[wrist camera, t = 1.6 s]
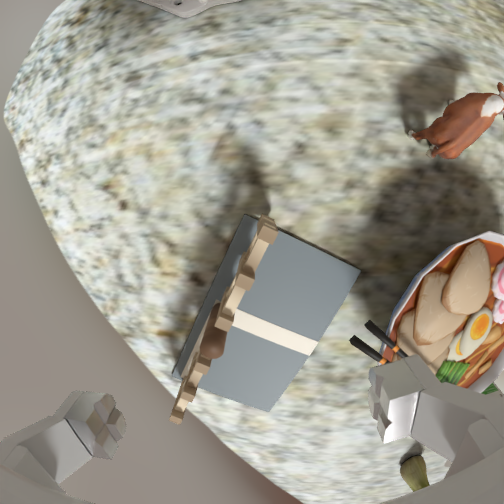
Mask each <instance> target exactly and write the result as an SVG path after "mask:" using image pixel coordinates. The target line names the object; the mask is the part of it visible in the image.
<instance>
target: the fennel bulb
mask: <svg viewBox="0 0 504 504" xmlns="http://www.w3.org/2000/svg"><path fill="white" fill-rule="evenodd" d="M400 473H401V476H402V478H403V479H404V481H405V482H406V483H407V484H408V485H409V486H410V488H411V489H412V490H413V492H415V491H417V490H420V489H422V488H425V487H427V486H430V485H429V482H428V479H427V474H426V464H425V461H424V460H423V457H422V456H413V457H411V458H409V459H408V460H407V461H405V462H404V463H403V464H402V466H401V468H400Z"/></svg>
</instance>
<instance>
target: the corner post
mask: <svg viewBox="0 0 504 504" xmlns="http://www.w3.org/2000/svg"><path fill="white" fill-rule="evenodd" d="M220 304H221V303H217V304H215V305H214V306H213V307H212V310H211V313H210V316H209V319H208V322H207V325H206V328H205V332H204V335H203V338H202V341H201V344H200V352H201V353H202V354H203V355H204V356H205V357H207V358H209V359H217V358H219V357H221V356H222V355H223V353H224V348H225V342H226V337H227V331H224V330H222V329H219V328H217V327H215V322H216V318H217V315H218V311H219V308H220Z"/></svg>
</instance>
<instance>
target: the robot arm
mask: <svg viewBox="0 0 504 504" xmlns="http://www.w3.org/2000/svg"><path fill="white" fill-rule="evenodd" d="M138 1H141V2H144V3H147V4H149V5H152V6H155V7H157V8H160V9H162V10H165V11H167V12H170V13H172V14H174V15H177V16H179V17H183V18H187V17H191V16H194V15H196V14H198V13H200V12H202V11H204V10H206V9H208V8H210V7H212V6H215V5H220V4H226V3H232V2H237V1H242V0H138ZM178 3H181V4H180V5H177V4H178ZM369 381H370V383H371V385H372V386H371V387H370V388H369V390H368V402H369V408H370V412H371V414H372V417H373V418H374V419H376V420H378V425H377V429H378V432H379V434H380V436H381V439H382V441H383V444H384V443H387V442H391V441H394V440H398V439H401V438H404V437H407V436H410V437H412V438H413V439H415V440H416V441H418V442H420V443H421V444H423V445H424V446H426V447H428V448H429V449H431V450H433V451H434V452H436V453H438V454H439V455H441V456H443V457H444V458H446V459H448V460H449V461H451V462H452V464H451V466H450V468H449V470H448V472H447V474H446V476H445V478H444V479H443V480H441V481H439V482H437V483H435V484H432V485H430V486H427V487H425V488H422V489H420V490H417V491H415V492H412V493H409V494H407V495H404V496H401V497H398V498H395V499H392V500H389V501H386V502H383V503H379V504H504V400H502V399H499V398H495V397H492V396H489V395H485V394H482V393H479V392H476V391H472V390H469V389H466V388H463V387H460V386H457V385H454V384H450V383H447V382H444V383H441V382H440V381H439V380H438V378H437V377H436V376H435V375H434V373H433V372H432V371H431V370H430V368H429V367H428V366H427V365H426V363H425V362H424V361H423V360H422V359H421V357H420V356H419V355H417V354H414V355H411V356H408V357H405V358H402V359H401V360H397V361H394V362H390V363H387V364H383V365H379V366H376V367H372V368H370V370H369ZM115 406H116V402H115V400H114V398H113V397H112V395H109V394H106V393H95V392H84V391H74V392H72V393H71V394H70V395H69V396H68V398H67V399H66V400H65V401H64V402H63V404H62V405H61V406H60V408H59V409H58V410H57V411H56V412H55V414H54V415H53V416H48V417H46V418H44V419H42V420H40V421H38V422H36V423H34V424H32V425H30V426H28V427H26V428H24V429H22V430H20V431H17V432H15V433H13V434H11V435H9V436H7V437H5V438H4V439H3V440H2V441H1V442H0V504H95V503H91V502H88V501H85V500H81V499H79V498H76V497H73V496H70V495H67V494H66V492H65V491H64V490H63V489H62V488H61V487H60V486H59V485H58V484H59V483H61V482H62V481H63V480H64V479H66V478H67V477H68V476H70V475H71V474H72V473H74V472H75V471H76V470H77V469H79V468H80V467H81V466H82V465H84V464H85V463H86V462H87V461H88V460H90V459H91V458H92V457H98V458H104V459H110V460H111V459H112V458H113V456H114V454H115V452H116V450H117V448H118V444H117V441H118V440H120V439H121V438H123V436H124V434H125V431H126V422H125V418H124V416H123V414H122V413H121V412H120V411H119V410H118V409H116V408H115Z"/></svg>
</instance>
